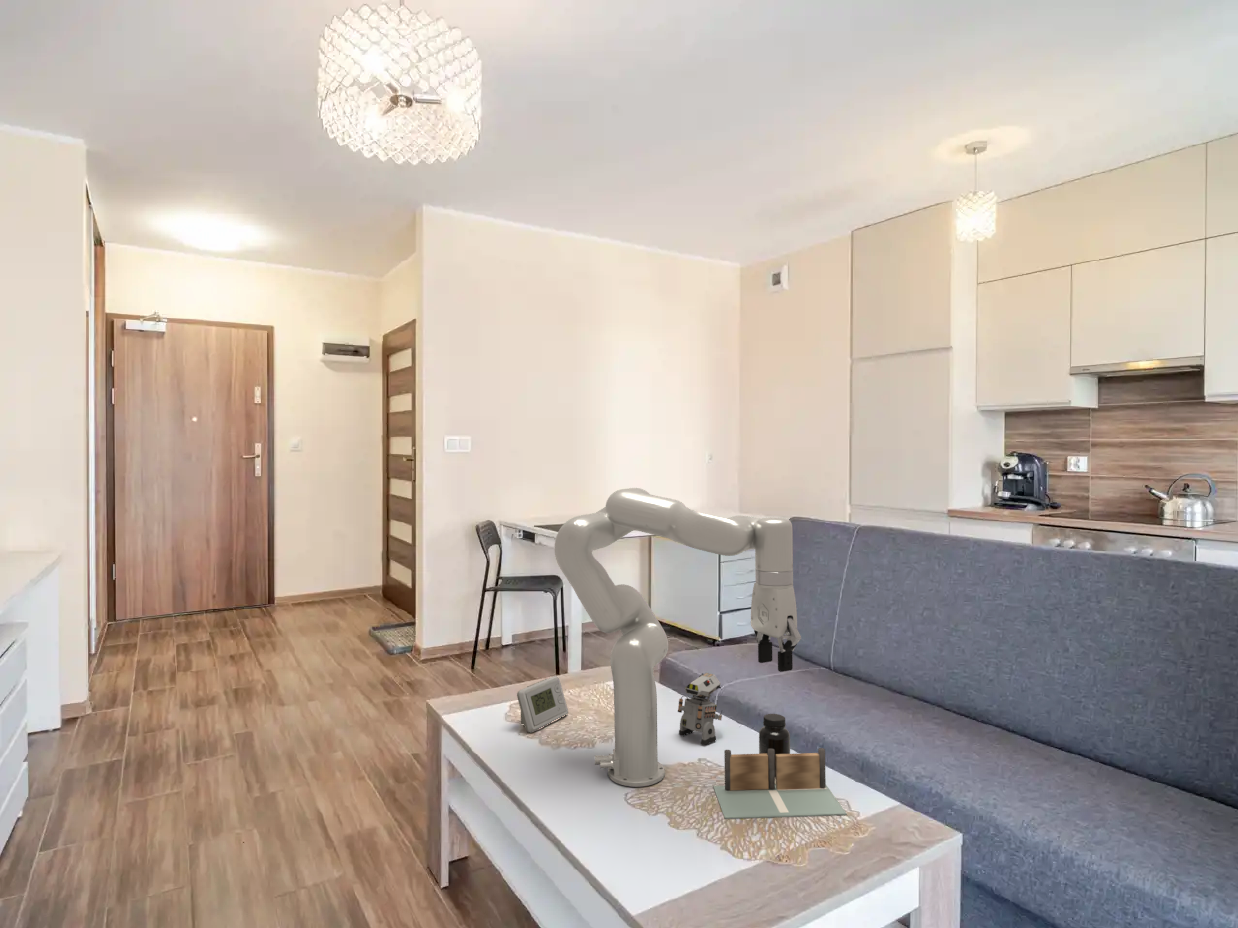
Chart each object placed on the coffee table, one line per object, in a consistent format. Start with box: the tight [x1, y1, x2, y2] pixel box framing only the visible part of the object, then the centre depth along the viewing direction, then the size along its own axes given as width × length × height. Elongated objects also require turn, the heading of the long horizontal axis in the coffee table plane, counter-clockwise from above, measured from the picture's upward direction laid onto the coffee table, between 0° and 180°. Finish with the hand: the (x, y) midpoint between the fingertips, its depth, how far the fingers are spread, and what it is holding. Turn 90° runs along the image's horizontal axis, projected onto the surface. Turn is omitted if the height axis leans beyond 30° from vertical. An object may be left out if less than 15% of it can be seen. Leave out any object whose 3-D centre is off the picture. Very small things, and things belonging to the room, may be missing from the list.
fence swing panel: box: [723, 749, 776, 791], centre depth 145 cm, size 11×1×8 cm, turn 92°
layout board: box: [713, 783, 848, 820], centre depth 141 cm, size 24×13×1 cm, turn 92°
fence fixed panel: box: [775, 747, 827, 790], centre depth 146 cm, size 10×1×8 cm, turn 92°
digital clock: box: [516, 675, 569, 733], centre depth 185 cm, size 16×9×11 cm, turn 134°
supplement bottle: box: [758, 713, 791, 778], centre depth 155 cm, size 7×7×12 cm
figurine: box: [677, 672, 723, 746], centre depth 174 cm, size 9×12×15 cm
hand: (775, 665), depth 141 cm, fingers open, 5 cm apart
